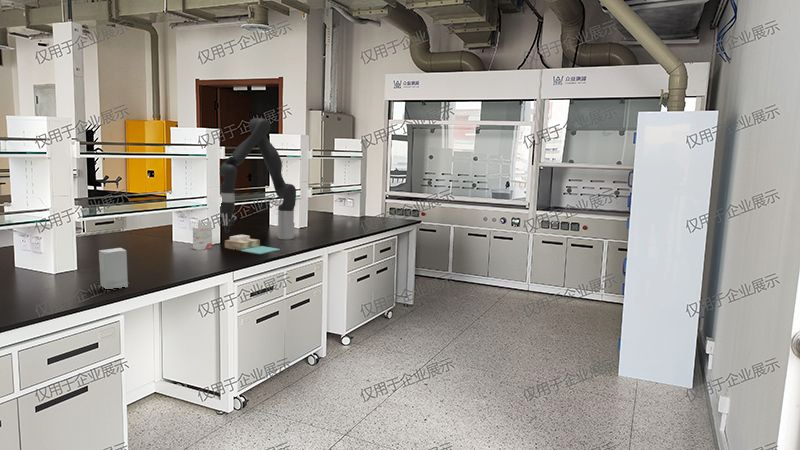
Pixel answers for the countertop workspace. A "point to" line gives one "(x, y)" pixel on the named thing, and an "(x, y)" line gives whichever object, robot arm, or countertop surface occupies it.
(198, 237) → the ink cartridge box
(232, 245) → the deck
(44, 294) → the countertop surface
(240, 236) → the slide case
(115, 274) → the skincare box
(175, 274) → the countertop surface
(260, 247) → the mat
